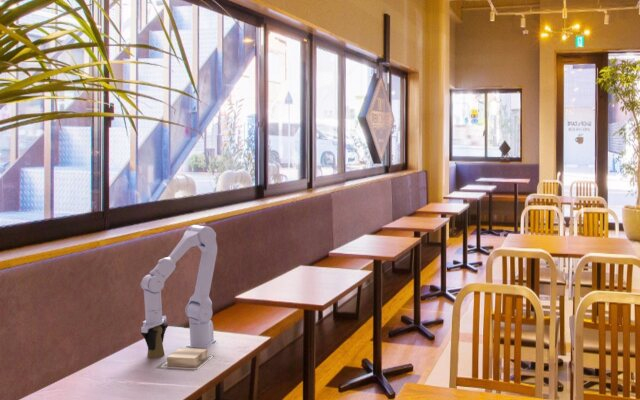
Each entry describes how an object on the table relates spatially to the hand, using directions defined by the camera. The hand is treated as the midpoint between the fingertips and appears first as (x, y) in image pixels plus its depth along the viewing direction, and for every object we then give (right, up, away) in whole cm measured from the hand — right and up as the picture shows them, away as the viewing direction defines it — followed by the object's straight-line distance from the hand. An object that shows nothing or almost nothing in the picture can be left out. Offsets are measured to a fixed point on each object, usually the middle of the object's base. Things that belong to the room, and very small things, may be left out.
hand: (155, 347), depth 234 cm
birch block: (+13, -3, -7) cm, 15 cm away
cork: (0, -4, 0) cm, 4 cm away
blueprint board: (+12, -4, -7) cm, 14 cm away
